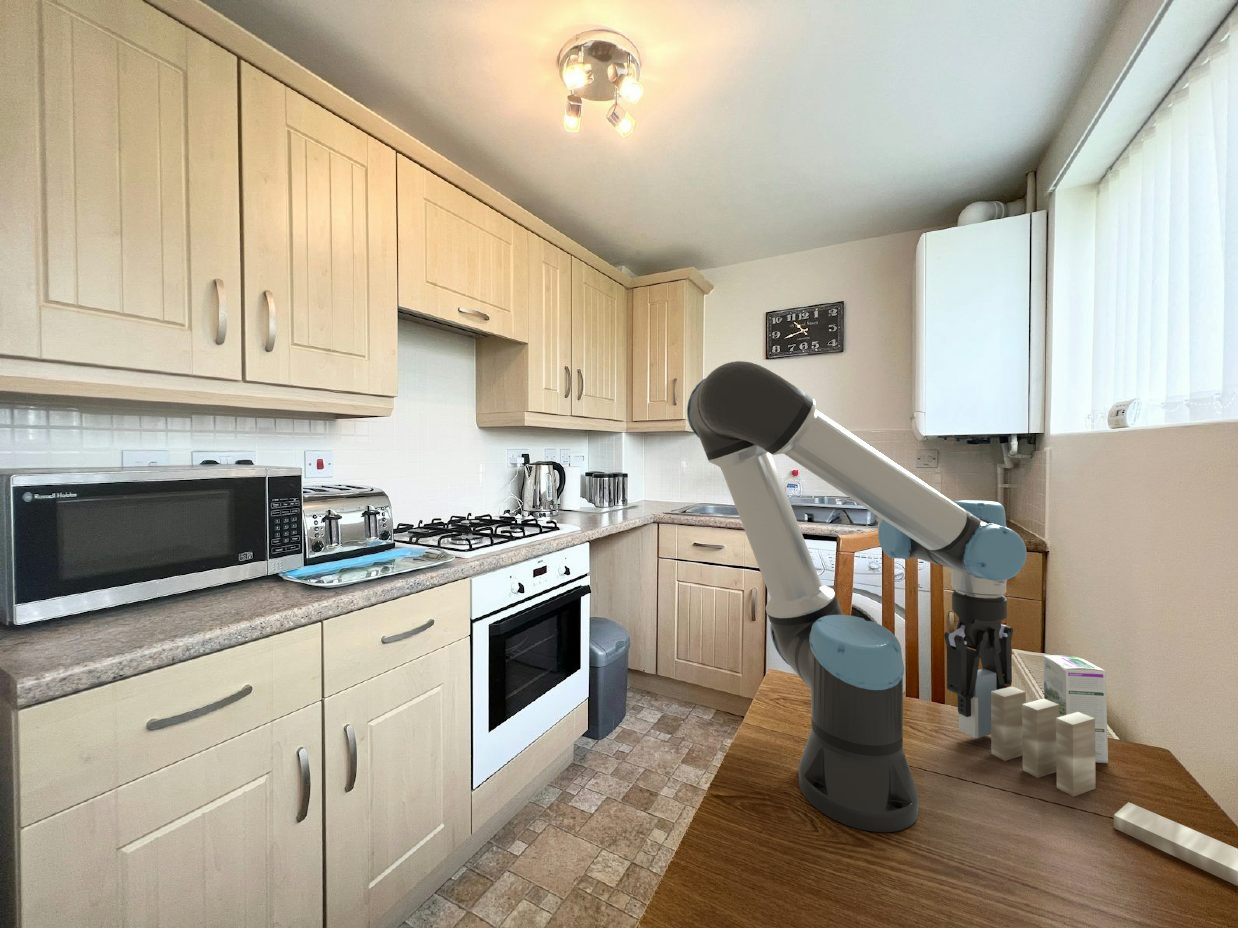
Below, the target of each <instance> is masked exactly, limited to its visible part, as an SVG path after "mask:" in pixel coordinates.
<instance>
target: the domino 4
mask: <svg viewBox="0 0 1238 928" xmlns="http://www.w3.org/2000/svg"><path fill="white" fill-rule="evenodd" d="M1056 764H1057V772H1056V788H1057V789H1058V790H1059V791H1062V792H1063V793H1066V794H1067V795H1069V796H1071V797H1074V798H1075V797H1076V796H1079V795H1081V794H1084V793H1086V792H1087V793H1088V792H1090V791H1093V790H1094V789H1096V762H1095V718H1093V717H1090V716H1088V715H1085V714H1082V713H1080V712H1076V713H1072V714H1068V715H1065V716H1061V717H1058V718H1056Z"/></svg>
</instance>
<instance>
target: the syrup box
mask: <svg viewBox="0 0 1238 928" xmlns="http://www.w3.org/2000/svg"><path fill="white" fill-rule="evenodd" d="M1042 657H1043V659H1042V660H1043V697H1044V698H1043V699H1046V700H1049V701H1051V702H1054V703H1056V704H1059V717H1061V716H1065V715H1068V714H1072V713H1076V712H1080V713H1082V714H1085V715H1088V716H1090V717H1093V718H1095V763H1100V764H1108V763H1109V751H1108V750H1109V749H1108V746H1109V745H1108V744H1109V743H1108V716H1107V706H1108V705H1107V677H1106V676H1107V675H1106V674H1107V672H1106V670H1105V669H1103V668H1101V667H1099V666H1098V665H1095V664H1093V663H1091V662H1089V661H1088V660H1086V659H1085V658H1082V657H1080V656H1073V655H1062V654H1058V655H1057V654H1055V655H1051V654H1050V655H1046V654H1043V656H1042Z"/></svg>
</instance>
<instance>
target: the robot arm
mask: <svg viewBox="0 0 1238 928" xmlns="http://www.w3.org/2000/svg"><path fill="white" fill-rule="evenodd" d="M687 402H688V403H687V406H686V407H687V408H686V412H687V413H686V416H687V421H688V424H689V427H690V429H691V430H692V432H693V433H694V434H695V435H696V437H697V438H699V440H700V442H701V446H702V448H703V450H704V453H705V456H706V458H707V461H708V463H710V464H713V465H714V466H718V467H719V468H720V469H721V472H722V475H723V477H724V480H725V481H726V485H727V487H728V490H729V493H730V495H731V498H732V501H733V503H734V506H735V508H736V511H737V514H738V517H739V520H740V522H741V524H742V526H743V530H744V533H745V535H746V537H747V539H748V542H749V545H750V547H751V550H752V553H753V555H754V558H755V560H756V564H757V566H758V568H759V571H760V574H761V576H762V579H763V582H764V584H765V587H766V590H767V592H768V594H769V599H768V602H767V603H766V606H765V611H766V612H765V613H766V614H767V617H768V620H769V624H770V625H769V626H770V627H769V629H770V630H769V631H770V632H769V633H770V637H771V640H772V643H773V645H774V648H775V650H776V651H777V653H778V655H779V656H780V658H781V659H782V660H783V661H784V662H785V663H786V664H787V665H788V666H790V668H791V669H792V670H793V671H794V672H795V673H796V674H797V675H798V677H799V678H800V679H801V680H802V681H803V682H804V683H805V685H806V686H807V687H808V688H809V690H810V708H811V709H810V711H811V712H810V716H811V719H810V720H811V721H810V722H811V724H810V725H811V729H810V733H809V736H808V738H807V741H806V742H805V743H806V744H805V746H804V750H803V751H802V755H801V758H800V761H799V765H798V785H799V789H800V791H801V792H802V795H803V796H804V798H805V799H806V800H807V801H808V802H809V804H810V805H812V806H813V807H814V808H815V809H816V810H818V812H820V813H822V814H823V815H825V816H827V817H829V818H830V819H832V820H834V821H836V822H839V823H841V824H842V825H846V826H849V827H852V828H854V829H859V830H863V831H868V832H874V833H875V832H876V833H893V832H894V833H895V832H898V831H902V830H905V829H907V828H909V827H911V826H913V824H914V823H915V822H916V821H917V819H918V816H919V793H918V789H917V786H916V783H915V780H914V777H913V774H912V771H911V768H910V765H909V762H908V760H907V757H906V754H905V751H904V739H903V738H904V734H903V733H904V732H903V731H904V726H903V725H904V721H903V720H904V719H903V718H904V717H903V715H904V711H903V709H904V708H903V706H904V705H903V704H904V698H903V697H904V694H903V693H904V687H903V686H904V685H903V683H904V681H903V680H904V678H903V677H904V674H905V665H904V660H903V654H902V653H903V652H902V647H901V644H900V641H899V640H898V638H897V636H895V634H894V633H893V632H892V631H890V630H889V629H888V628H886V627H884V626H883V625H881V624H880V623H877V622H875V621H873V620H866V619H865V618H863V617H859V616H855V615H847V614H843V611H842V609H841V605H840V602H839V600H838V597H837V595H836V593H835V590H834V589H833V588H832V587H831V586H829V585H826V584H823V583H822V582H821V580H820V578H819V575H818V573H817V569H816V567H815V564H814V562H813V558H812V556H811V554H810V552H809V548H808V546H807V543H806V540H805V538H804V536H803V533H802V530H801V527H800V525H799V522H798V520H797V517H796V515H795V512H794V510H793V507H792V505H791V502H790V499H789V497H788V496H789V495H788V494H787V492H786V488H785V486H784V484H783V481H782V478H781V475H780V473H779V470H778V468H777V465H776V462H775V459H774V457H773V456H777V455H782V454H783V455H785V456H786V457H788V458H789V459H791V460H792V461H794V462H795V463H797V464H799V465H800V466H802V467H803V468H805V469H806V470H808V471H809V472H810V473H812V474H814V475H815V476H816V477H818V478H819V479H821V480H823V481H824V482H826V483H827V484H829V485H831V486H832V487H833V488H835V489H837V490H838V491H840V492H841V493H842V494H844V495H845V496H847V497H848V498H850V499H851V500H853V501H854V502H856V503H857V504H859V505H861V506H862V507H863V508H864V509H866V510H868V511H870V512H871V513H873V514H874V515H875V516H877V517H878V518H880V519H881V520H880V522H879V524H878V528H877V529H878V530H877V532H878V533H877V534H878V535H877V536H878V542H879V543H878V544H879V546H880V548H881V550H882V552H883V554H885V555H886V556H888V558H890V559H899V560H900V559H901V560H905V561H906V560H907V561H908V560H914V559H916V560H921V561H924V562H928V563H932V564H934V565H937V566H940V567H943V568H948V569H951V573H950V575H951V579H950V581H951V585H950V587H952V589H954V590H953V591H952V592H951V609H952V610H951V611H952V612H953V613H954V614H955V615H956V616H957V617H958V622H957V624H956V630H955V631H953V632H951V631H950V632H949V631H945V632H944V635H943V637H944V642H945V644H946V689H947V691H950V692H952V693H954V694H956V695H957V712H958V731H959V732H961V733H963V734H965V735H968V736H969V737H971V738H973V739H975V740H976V739H979V738H978V698H977V697H974V692H975V685H976V679H977V673H978V670H979V666H980V662H981V667H982V668H981V669H986V670H989V671H992V672H994V673H996V689H997V690H999V689H1003V688H1007V687H1008V686H1011V685H1012V682H1013V672H1012V671H1013V669H1012V668H1013V667H1012V665H1013V664H1012V663H1013V661H1012V639H1013V638H1012V637H1013V633H1014V628H1013V627H1011V626H1009V625H1005V624H1002V623H1001V622H1003V621H1005V620H1007V618H1008V599H1007V598H1006V596H1005V594H1006V593H1007V583H1008V580H1009V579H1012V578H1014V577H1015V576H1017V575H1018V574H1019V573H1020V572H1021V570H1022V569H1023V566H1025V564H1026V561H1027V557H1028V555H1027V553H1028V552H1027V547H1026V543H1025V541H1024V540H1023V538H1022V537H1021V536H1020V535H1019V533H1017V532H1016V531H1015V530H1013V529H1011V528H1009V527H1008V526H1007V519H1006V510H1005V507H1004V505H1002V504H1001V503H1000V502H998V501H994V500H993V501H992V500H991V501H990V500H977V499H976V500H975V499H974V500H971V499H970V500H969V499H964V500H954V501H952V500H951V499H950V498H948V497H947V496H945V495H944V494H942V493H940V492H939V491H938V490H936V489H935V488H934V487H931V486H930V485H928V484H927V483H926V482H924V481H923V480H921V479H920V478H918V477H917V476H915V475H914V474H913V473H911V472H910V471H908V470H907V469H905V468H903V467H902V466H901V465H899V464H897V463H896V462H894V461H893V460H892V459H890V458H889V457H887V456H886V455H884V454H883V453H881V452H879V451H878V450H877V449H875V448H874V447H872V446H870V445H869V444H868V443H866V441H863V440H862V439H860V438H859V437H857V436H856V435H854V434H853V433H852V432H850V431H849V430H848V429H845V428H844V427H842V425H840V424H839V423H837V422H835V421H834V420H832V419H830V417H828V416H826V415H825V414H823V413H822V412H820V411H819V410H817V406H816V405H817V404H816V399H815V398H813V397H812V396H810V395H808V394H807V393H805V392H804V391H803V390H801V389H800V388H798V387H797V386H795V385H794V384H792V383H791V382H789V381H787V380H786V379H785V378H783V377H782V376H780V375H778V374H776V373H775V372H773V371H771V370H769V369H768V368H766V367H765V366H761V364H757V363H753V362H750V361H741V360H737V361H730V362H727V363H724V364H722V365H720V366H718V367H716V368H715V369H714V370H712V371H711V372H710V373H709V374H708V376H707V377H706V378H703V379H702V380H701V381H700V382H699V383H698V384H696V385H695V388H694V389H693V390H692V391H691V394H690V395H689V399H688V401H687ZM966 688H967V689H966Z"/></svg>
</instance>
